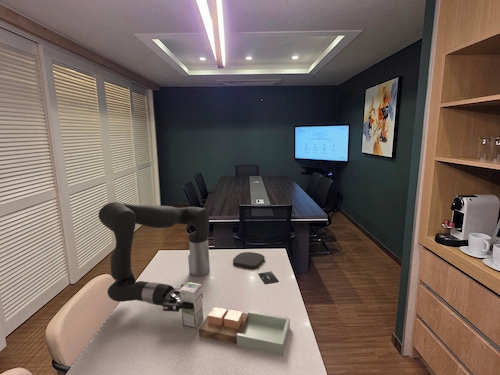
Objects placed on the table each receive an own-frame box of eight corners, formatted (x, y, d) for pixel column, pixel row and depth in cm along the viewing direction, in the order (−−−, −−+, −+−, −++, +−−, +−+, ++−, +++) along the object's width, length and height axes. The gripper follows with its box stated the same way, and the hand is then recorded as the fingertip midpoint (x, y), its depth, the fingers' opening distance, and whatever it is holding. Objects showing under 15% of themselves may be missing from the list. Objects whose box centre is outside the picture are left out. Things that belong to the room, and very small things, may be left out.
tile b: (224, 326, 97) (224, 318, 96) (229, 317, 101) (229, 309, 101) (238, 329, 95) (237, 321, 94) (242, 319, 100) (242, 312, 99)
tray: (237, 345, 92) (236, 335, 91) (249, 320, 104) (248, 310, 103) (282, 355, 87) (282, 344, 86) (289, 328, 99) (289, 318, 99)
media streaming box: (255, 271, 141) (255, 265, 141) (230, 266, 147) (230, 260, 147) (266, 259, 154) (266, 254, 153) (242, 254, 160) (242, 250, 160)
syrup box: (203, 318, 105) (201, 283, 102) (195, 329, 100) (193, 291, 97) (190, 315, 107) (188, 280, 104) (181, 325, 102) (179, 289, 99)
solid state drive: (264, 285, 128) (264, 283, 128) (258, 274, 138) (258, 273, 138) (278, 282, 130) (278, 281, 130) (271, 272, 140) (271, 271, 139)
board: (199, 336, 96) (198, 328, 96) (213, 314, 107) (213, 307, 107) (237, 344, 92) (237, 336, 91) (248, 321, 103) (248, 314, 103)
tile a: (208, 323, 98) (207, 315, 98) (214, 314, 103) (214, 306, 102) (221, 325, 97) (221, 317, 96) (227, 316, 101) (226, 309, 101)
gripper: (144, 295, 99) (187, 303, 94) (167, 275, 112) (206, 281, 107) (146, 314, 100) (188, 323, 95) (169, 292, 113) (207, 299, 108)
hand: (197, 301), depth 101 cm, fingers closed on syrup box, 6 cm apart
